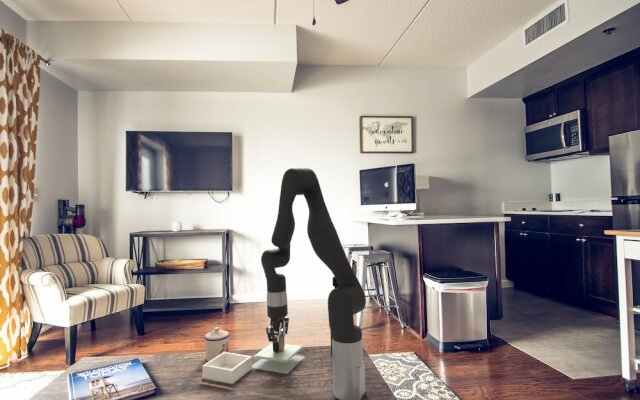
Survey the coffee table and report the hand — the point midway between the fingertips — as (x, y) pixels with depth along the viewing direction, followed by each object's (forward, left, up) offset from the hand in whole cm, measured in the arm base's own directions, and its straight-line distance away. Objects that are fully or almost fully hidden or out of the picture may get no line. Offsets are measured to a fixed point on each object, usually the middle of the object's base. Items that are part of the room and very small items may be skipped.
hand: (278, 349), depth 138 cm
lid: (0, 0, -1) cm, 1 cm away
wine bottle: (-19, -14, -5) cm, 24 cm away
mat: (0, 0, -5) cm, 5 cm away
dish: (+12, +14, -5) cm, 19 cm away
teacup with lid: (+25, +2, -5) cm, 26 cm away
